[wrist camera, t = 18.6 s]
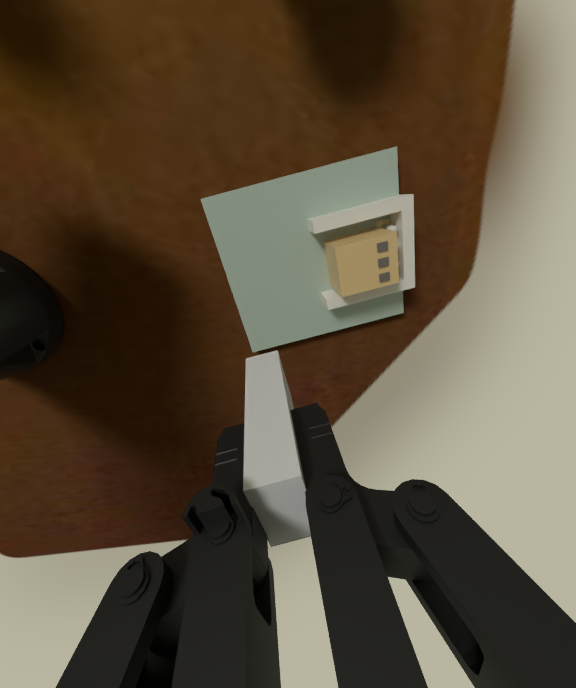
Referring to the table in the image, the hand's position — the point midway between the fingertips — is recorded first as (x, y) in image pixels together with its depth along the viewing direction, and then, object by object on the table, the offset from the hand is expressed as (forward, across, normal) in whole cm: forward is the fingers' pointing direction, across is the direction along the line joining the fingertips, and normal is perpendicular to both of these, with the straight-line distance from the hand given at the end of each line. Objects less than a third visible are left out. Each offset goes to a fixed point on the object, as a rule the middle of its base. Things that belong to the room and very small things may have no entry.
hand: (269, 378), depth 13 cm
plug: (+21, +11, -1) cm, 23 cm away
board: (+22, +7, 0) cm, 23 cm away
